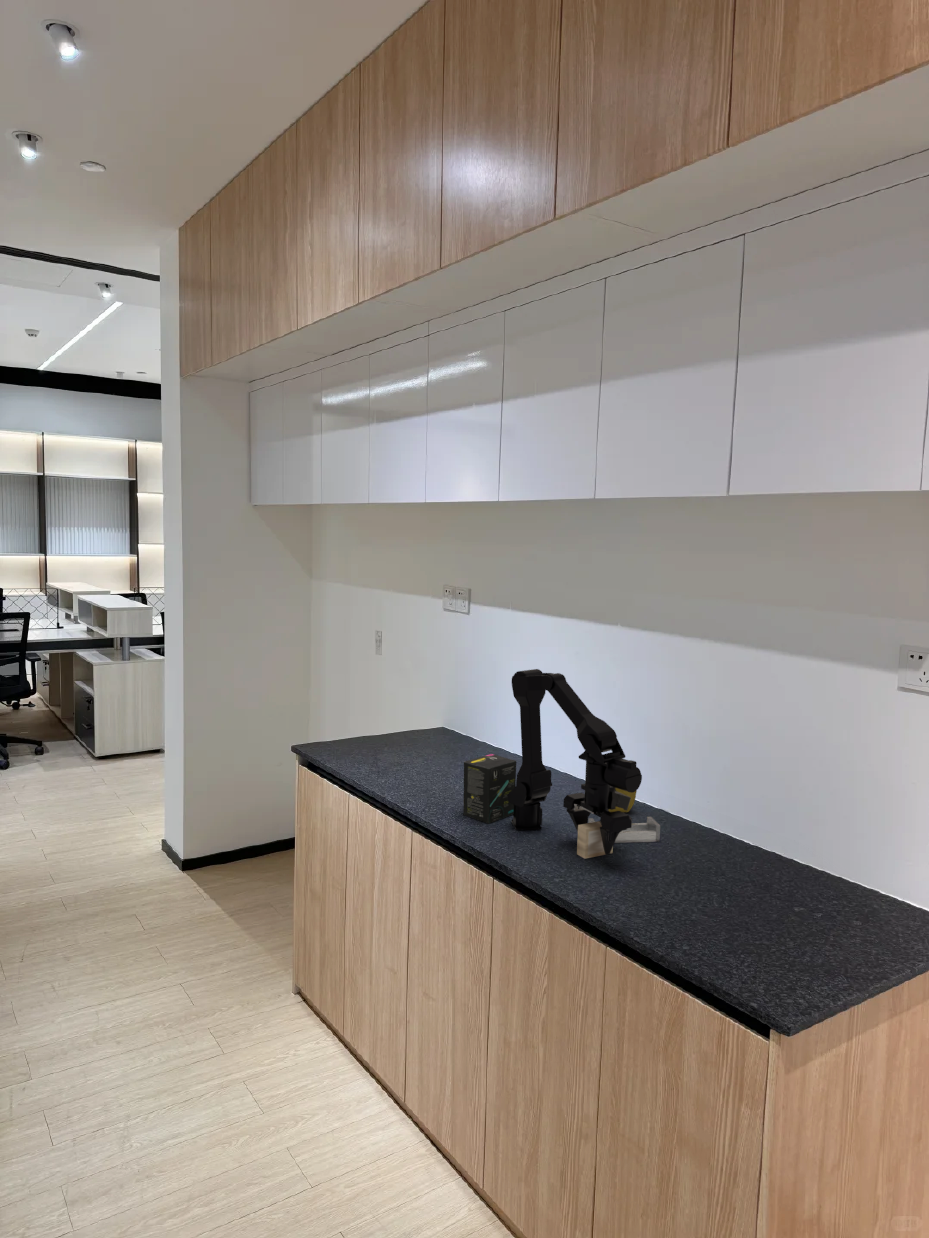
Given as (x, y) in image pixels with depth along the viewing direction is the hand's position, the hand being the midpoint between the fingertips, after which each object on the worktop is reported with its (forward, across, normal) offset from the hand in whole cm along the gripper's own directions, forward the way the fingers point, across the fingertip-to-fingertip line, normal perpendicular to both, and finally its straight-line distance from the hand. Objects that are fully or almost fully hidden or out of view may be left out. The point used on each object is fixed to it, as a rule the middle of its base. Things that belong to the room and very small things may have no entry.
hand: (595, 846), depth 192 cm
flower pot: (+2, +22, -24) cm, 33 cm away
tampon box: (+2, +33, +9) cm, 34 cm away
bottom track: (+2, +5, -12) cm, 14 cm away
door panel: (+2, 0, 0) cm, 2 cm away
